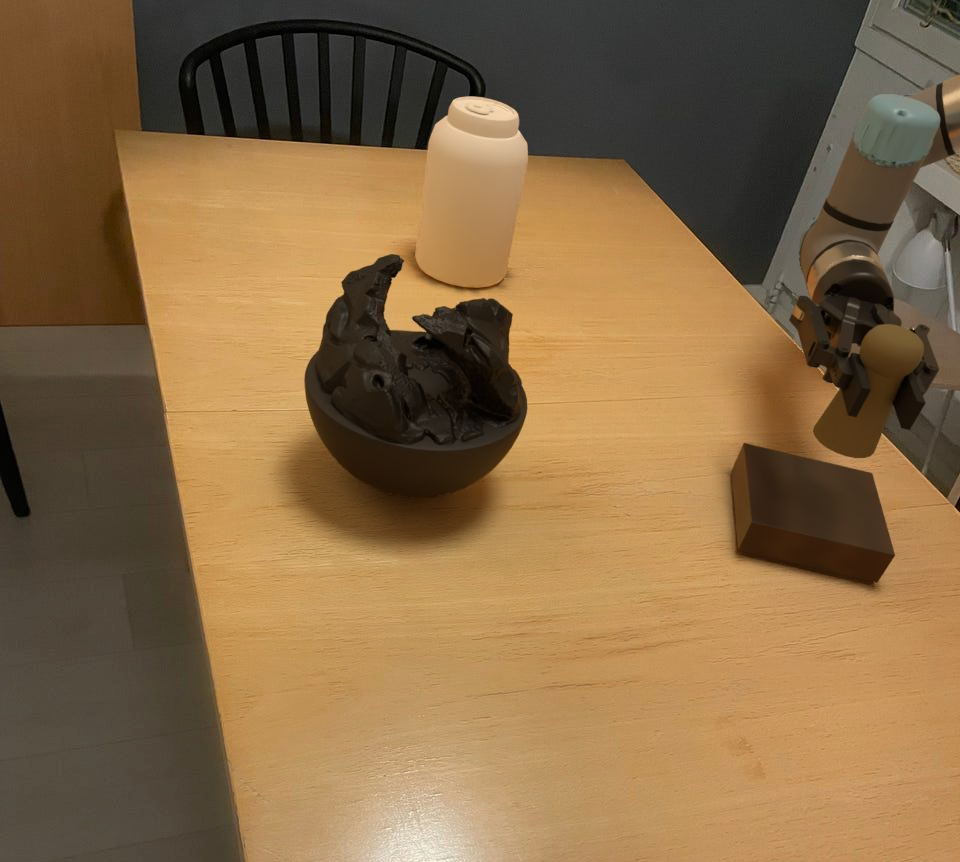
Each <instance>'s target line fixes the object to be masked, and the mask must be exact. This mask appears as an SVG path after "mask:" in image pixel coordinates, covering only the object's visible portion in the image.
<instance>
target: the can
mask: <svg viewBox="0 0 960 862" xmlns="http://www.w3.org/2000/svg"><path fill="white" fill-rule="evenodd" d="M519 127H520V116H519V113H518V112H517V110H516V109H514V108H513V107H511V106H510V105H508V104H506V103H503V102H502V101H498V100H495V99H491V98H488V97H483V96H474V95H473V96H467V95H466V96H461V97H456V98H454V99H453V100H452V102H451V103H450V105H449V107H448V111H447V115H445V116H444V117H443V118H441V119H440V120H439V121H437V122H436V123H435V124H434V126H433V129H432V132H431V134H430V137H429V140H428V145H427V153H426V160H425V170H424V178H423V185H422V194H421V202H420V211H419V221H418V230H417V237H416V246H415V252H414V258H415V261H416V264H417V265H418V268H419V269H420V270H421V271H423V272H424V274H426V275H428V276H429V277H432V278H433V279H435V280H436V281H439V282H441V283H445V284H447V285H453V286H456V287H462V288H475V289H476V288H477V289H479V288H487V287H491V286H494V285H497V284H499V283H500V282H501V281H503V279H504V278H505V276H506V275H507V271H508V265H509V260H510V255H511V250H512V245H513V240H514V236H515V229H516V225H517V219H518V215H519V209H520V205H521V204H520V203H521V199H522V193H523V188H524V184H525V178H526V173H527V168H528V162H529V150H528V149H529V148H528V142H527V141H526V139H525V137H524V136H523V134H522V133H521V131H520V130H519Z"/></svg>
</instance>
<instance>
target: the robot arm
mask: <svg viewBox="0 0 960 862" xmlns="http://www.w3.org/2000/svg"><path fill="white" fill-rule="evenodd" d="M851 135H852V137H851V140H850V142H849V144H848V147H847V149H846V151H845V154H844V155H843V159H842V161H841V162H840V163H841V164H840V166H839V169H838V171H837V173H836V176H835V178H834V180H833V183H832V185H831V188H830V190H829V193H828V195H827V197H826V198H825V201H824V203H823V204H822V207H821V209H820V211H819V213H818V214H817V215H816V216H814V217H813V218H812V219H811V220H810V221H809V222H808V223H807V224H806V226H805V227H804V229H803V231H802V233H801V236H800V239H799V244H798V255H799V258H798V261H799V267H800V271H801V274H802V275H803V278H804V281H805V286H806V289H807V292H808V296H809V297H808V296H807V295H799V296H798V298H797V301H796V303H795V305H794V307H793V309H792V312H791V314H790V317H789V319H788V321H789V322H790V323H791V325H792V326H793V327H794V328H795V329H796V330H797V334H798V337H799V342H800V345H801V348H802V349H801V350H802V351H803V355H804V359H805V363H806V365H807V366H808V367H809V368H813V369H819V367H820V366H822V367H825V368H826V369H825V372H824V373H823V376H822V380H823V381H825V383H828V384H832V385H833V386H834V387H835V388H839V389H840V388H841V391H842V395H843V399H844V403H845V406H846V410H847V414H848V416H852V417H857V415H858V413H859V411H860V410H861V408H862V406H863V404H864V402H865V400H866V398H867V397H868V395H869V393H870V391H871V388H870V385H869V382H868V379H867V375H866V372H865V369H864V366H863V363H862V361H861V359H860V353H857V352H851V351H852V347H853V346H852V345H853V344H856V345H857V347H859V348H861V343H862V341H863V339H864V337H865V335H866V334H867V333H868V332H869V331H870V330H871V329H873V328H874V327H876V326H877V325H883V324H892V325H897V326H900V327H903V328H906V329H908V330H910V331H912V332H913V333H915V334H916V335H917V336H918V337H919V338H920V339H921V340H922V342H923V345H924V353H923V357H922V360H921V362H920V363H919V365H918V366H917V367H916V368H915V369H914V371H912V372H911V373H910V374H908V375H906V376H905V377H904V379H903V382H902V384H901V387H900V389H899V391H898V393H897V396H896V398H895V400H894V402H893V408H894V411H895V414H896V417H897V420H898V423H899V426H900V429H903V430H906V431H907V430H908V431H910V430H911V429H912V428H913V425H914V423H915V422H916V421H917V419H918V417H919V415H920V413H922V410H923V409H924V407H925V405H926V400H925V397H924V395H925V394H926V393H927V392H928V390H929V389H930V386H931V384H932V383H933V382H934V380H935V378H936V377H937V375H938V373H939V371H940V367H939V364H938V362H937V359H936V356H935V354H934V351H933V349H932V345H931V343H930V340H929V338H928V335H929V333H930V330H931V329H930V327H929V326H927V325H925V324H918V325H917V326H911V327H910V328H909V327H907V326H904V325H902V324H903V322H902V319H901V317H900V316H898V315H897V314H896V313H895V296H894V292H893V288H892V286H891V284H890V282H889V279H888V276H887V274H886V271H885V269H884V266H883V263H882V262H881V260H880V256H879V252H880V250H881V248H882V246H883V243H884V242H885V240H886V238H887V236H888V234H889V232H890V229H891V227H892V226H893V223H894V221H895V218H896V216H897V214H898V212H899V211H900V209H901V207H902V205H903V202H904V201H905V199H906V197H907V194H908V193H909V191H910V189H911V187H912V185H913V183H914V181H915V179H916V177H917V176H918V173H919V172H920V170H921V168H924V167H927V166H929V165H933V164H934V163H938V162H940V161H942V160H944V159H947V158H949V157H951V156H954V155H957V154H958V153H960V73H959V74H957V75H955V76H952V77H950V78H948V79H946V80H944V81H943V82H940V83H937V84H935V85H932V86H930V87H926V88H925V89H923V90H920V91H918V92H916V93H909V94H903V95H902V94H901V95H900V94H895V93H886V94H885V93H882V94H881V93H880V94H877V95H875V96H873V97H872V98H871V99H869V101H868V103H866V106H865V109H864V111H863V113H862V114H861V116H860V119H859V120H858V123H857V124H856V126H854V128H853V131H852V133H851Z"/></svg>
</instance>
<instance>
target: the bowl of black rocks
mask: <svg viewBox="0 0 960 862" xmlns="http://www.w3.org/2000/svg"><path fill="white" fill-rule="evenodd" d="M404 262H405V259H404V258H402V257H401V256H400V255H399V254H396V253H395V254H394V253H390V254H387V255H384V256H380V257H378V258H377V259H376V260H375V262H374V263H372V264H368V265H366V266H362V267H361V268H358V269H356V270H352V271H350V272H349V273H348V274H347V275H346V276H345V277H344V278H343V280H342V281H341V282H340V283H341V288H342V290H343V294H342V295H340V296H338V297H337V298H336V299H335V300H334V301H333V303H332V304H331V306H330V307H329V309H328V311H327V312H326V315H325V322H324V324H323V326H322V334H321V335H322V336H321V337H322V338H321V341H320V344H319V347H318V350H316V352H315V353H314V354H313V355H312V356H311V358H310V359H309V361H308V363H307V365H306V367H305V370H304V371H305V372H304V377H303V378H304V379H303V381H304V382H303V383H304V394H305V401H306V404H307V408H308V412H309V415H310V419H311V422H312V424H313V426H314V429H315V431H316V433H317V436H318V437H319V439H320V441H321V442H322V444H323V445H324V447H325V448H326V450H327V451H328V453H329V454H330V455H331V456H332V458H333V459H334V460H335V461H336V462H337V463H338V464H339V465H340V467H341V468H343V469H344V470H345V471H347V472H348V473H349V474H350V475H352V476H353V477H354V478H355V479H357V480H358V481H360V482H362V483H363V484H364V485H367V486H368V487H371V488H373V489H375V490H377V491H379V492H383V493H386V494H389V495H393V496H397V497H402V498H408V499H409V498H411V499H431V498H437V497H442V496H446V495H450V494H454V493H456V492H459V491H462V490H463V489H466V488H468V487H471V486H472V485H473V484H475V483H477V482H479V481H481V480H482V479H483V478H484V477H486V476H487V475H488V474H490V473H491V472H492V471H493V470H494V469H495V468H496V467H498V465H499V464H500V463H501V462H502V461H503V460H504V458H505V457H506V456H507V454H509V452H510V451H511V449H512V448H513V447H514V445H515V444H516V441H517V439H518V437H519V435H520V434H521V431H522V428H523V426H524V424H525V421H526V417H527V414H528V397H527V394H526V391H525V389H524V387H523V382H522V381H523V380H522V378H521V377H520V375H519V373H518V371H517V370H515V369H514V368H513V367H512V366H511V364H510V363H509V362H510V361H509V360H510V359H509V358H510V331H511V327H512V323H513V316H514V313H513V312H512V311H510V310H509V309H508V308H506V306H504V305H503V304H501V302H499V301H498V300H497V299H495V298H485V297H482V298H476V299H475V298H474V299H470V300H464V301H459V303H458V304H457V303H456V305H455V306H454V307H452V308H451V307H448V306H446V305H443V306H437V307H435V308H434V311H433V313H432V315H430V314H428V313H427V314H425V313H422V314H419V315H413V316H411V320H412V321H413V322H414V323H415V324H417V326H418V327H420V328H421V329H422V330H424V331H418V330H417V331H415V330H404V329H403V330H402V329H401V330H400V329H390V327H389V325H388V324H387V320H386V318H385V310H386V303H387V299H388V294H389V291H390V288H391V286H392V281H393V279H395V278H396V277H397V275H398V274H399V273H400V272H401V271H402V269H403V264H404Z"/></svg>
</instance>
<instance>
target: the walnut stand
mask: <svg viewBox="0 0 960 862" xmlns="http://www.w3.org/2000/svg"><path fill="white" fill-rule="evenodd" d="M731 481H732V494H733V495H732V496H733V505H734V506H733V507H734V519H735V531H736V541H737V543H736V544H737V550H738V551H739V552H740V553H741V554H740V555H741V556H744V557H750V558H753V559H758V560H762V561H766V562H771V563H775V564H779V565H784V566H788V567H793V568H797V569H800V570H805V571H808V572H809V571H810V572H814V573H818V574H823V575H827V576H830V577H835V578H840V579H844V580H848V581H852V582H856V583H861V584H866V585H869V586H871V585H872V583H877V584H878V583H879V581H880V580H881V578H882V577H883V575H884V573H885V572H886V570H887V568H888V567H889V566H890V564H891V563H892V561H893V560H894V558H895V556H896V552H895V549H894V546H893V542H892V538H891V535H890V532H889V528H888V524H887V521H886V517H885V514H884V510H883V507H882V503H881V499H880V495H879V492H878V489H877V485H876V481H875V478H874V475H873V472H870V471H866V470H862V469H857V468H853V467H849V466H845V465H840V464H836V463H832V462H828V461H823V460H819V459H815V458H811V457H807V456H802V455H798V454H793V453H788V452H784V451H780V450H776V449H772V448H767V447H763V446H759V445H754V444H751V443H746V442H743V444H742V446H741V448H740V450H739V453H738V455H737V457H736V459H735V462H734V464H733V466H732V468H731Z"/></svg>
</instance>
